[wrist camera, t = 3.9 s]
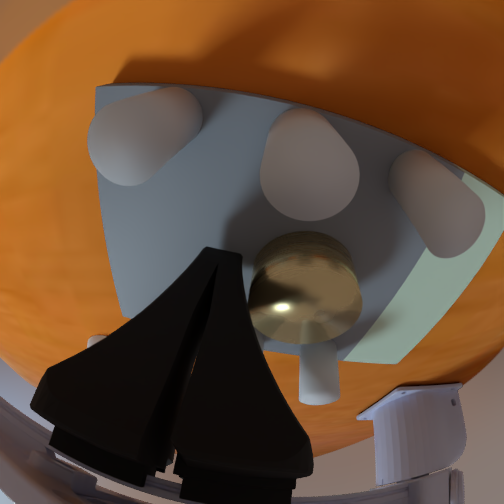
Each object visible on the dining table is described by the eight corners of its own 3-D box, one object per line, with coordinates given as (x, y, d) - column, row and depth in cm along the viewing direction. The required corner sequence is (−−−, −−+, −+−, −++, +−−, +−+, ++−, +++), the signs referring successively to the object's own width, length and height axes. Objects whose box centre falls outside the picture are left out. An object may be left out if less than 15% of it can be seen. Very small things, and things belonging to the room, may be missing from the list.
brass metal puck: (368, 243, 9) (382, 281, 8) (333, 312, 12) (336, 348, 10) (262, 221, 9) (257, 258, 8) (246, 298, 12) (240, 335, 10)
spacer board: (504, 195, 8) (554, 248, 5) (393, 351, 15) (403, 405, 12) (111, 83, 7) (33, 106, 4) (129, 303, 15) (102, 358, 12)
